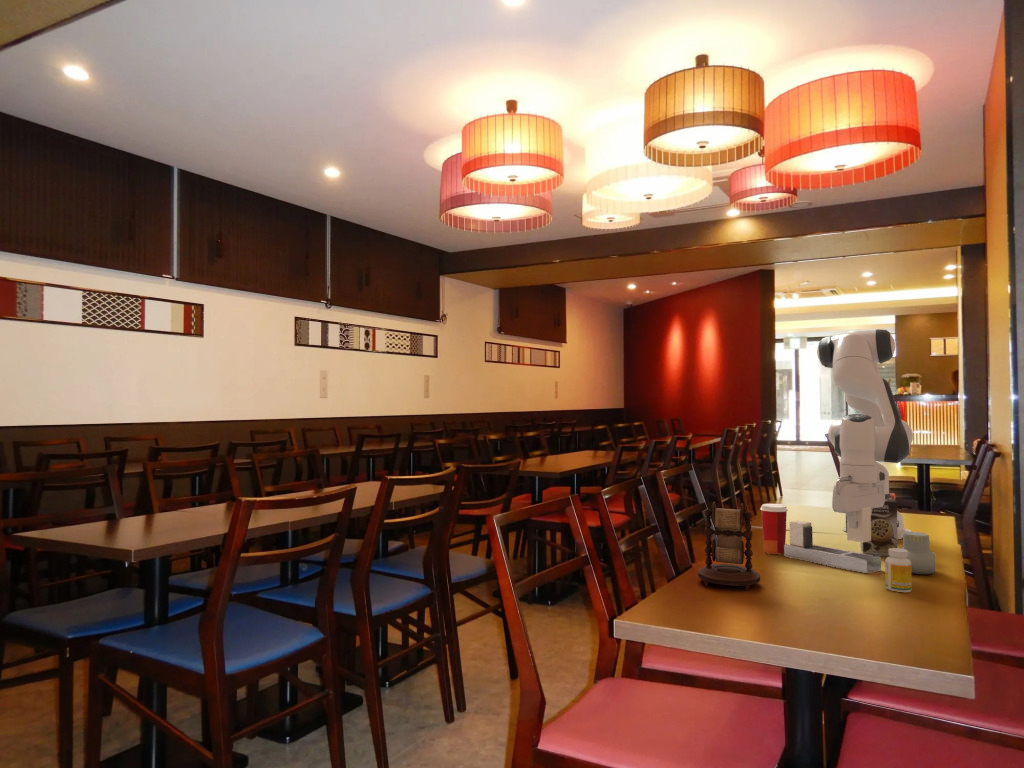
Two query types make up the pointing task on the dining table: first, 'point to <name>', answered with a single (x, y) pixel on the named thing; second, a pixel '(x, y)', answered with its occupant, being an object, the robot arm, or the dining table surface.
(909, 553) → the air freshener
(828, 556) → the rail
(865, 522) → the cream upright block
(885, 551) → the coffee box
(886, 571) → the supplement bottle
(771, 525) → the paper cup
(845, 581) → the dining table surface
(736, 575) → the scroll
